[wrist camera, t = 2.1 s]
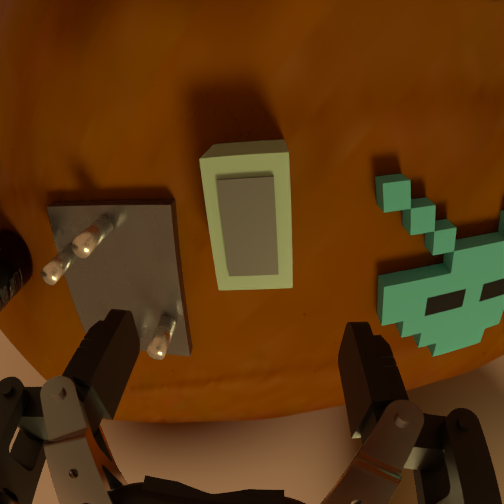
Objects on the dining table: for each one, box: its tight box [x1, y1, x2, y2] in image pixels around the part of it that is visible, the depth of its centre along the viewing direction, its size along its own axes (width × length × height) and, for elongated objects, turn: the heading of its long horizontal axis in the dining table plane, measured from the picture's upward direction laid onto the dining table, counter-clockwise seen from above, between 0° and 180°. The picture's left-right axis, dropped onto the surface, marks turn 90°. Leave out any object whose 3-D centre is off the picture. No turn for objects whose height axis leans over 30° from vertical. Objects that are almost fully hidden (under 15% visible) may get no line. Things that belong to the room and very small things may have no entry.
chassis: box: [41, 200, 192, 360], centre depth 25 cm, size 16×12×5 cm
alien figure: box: [375, 174, 504, 357], centre depth 24 cm, size 20×2×20 cm
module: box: [199, 139, 293, 290], centre depth 21 cm, size 9×5×5 cm, turn 4°
